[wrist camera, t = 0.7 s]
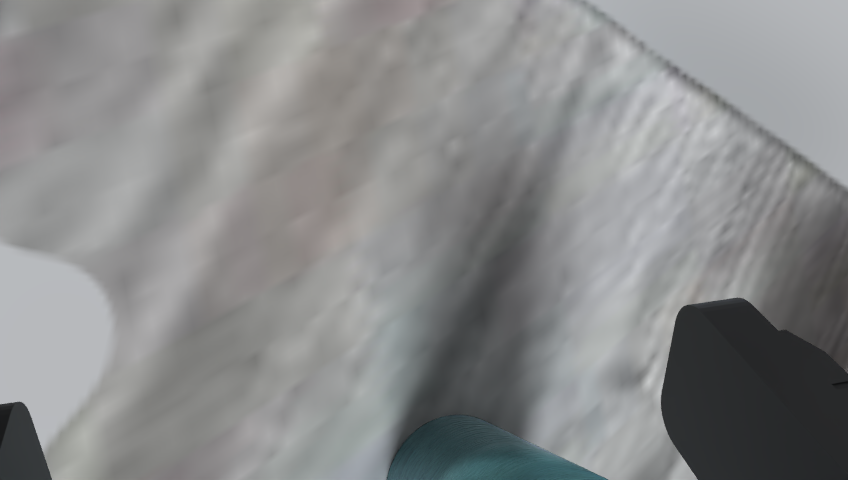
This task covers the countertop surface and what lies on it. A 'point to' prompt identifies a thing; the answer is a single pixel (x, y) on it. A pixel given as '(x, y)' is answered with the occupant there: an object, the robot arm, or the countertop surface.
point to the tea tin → (477, 455)
